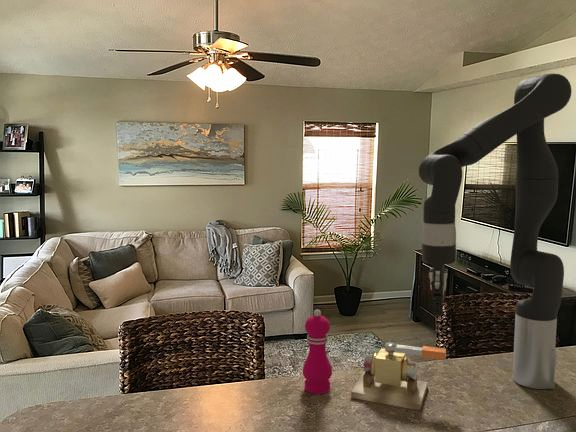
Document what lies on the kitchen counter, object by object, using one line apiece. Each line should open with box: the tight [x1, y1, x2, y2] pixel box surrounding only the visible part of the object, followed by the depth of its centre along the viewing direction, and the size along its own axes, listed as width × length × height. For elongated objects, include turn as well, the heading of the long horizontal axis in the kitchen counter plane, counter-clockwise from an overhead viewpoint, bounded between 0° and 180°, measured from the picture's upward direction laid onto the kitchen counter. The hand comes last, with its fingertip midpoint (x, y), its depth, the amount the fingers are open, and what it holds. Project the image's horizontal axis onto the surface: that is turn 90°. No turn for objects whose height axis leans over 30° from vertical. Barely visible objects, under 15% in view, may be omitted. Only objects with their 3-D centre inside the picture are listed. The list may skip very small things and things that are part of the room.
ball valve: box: [363, 347, 418, 386], centre depth 120 cm, size 12×6×7 cm, turn 67°
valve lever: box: [384, 342, 447, 361], centre depth 117 cm, size 3×14×2 cm, turn 69°
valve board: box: [350, 371, 428, 411], centre depth 120 cm, size 16×12×4 cm
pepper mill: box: [302, 309, 333, 395], centre depth 122 cm, size 7×7×20 cm
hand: (437, 314), depth 117 cm, fingers closed
